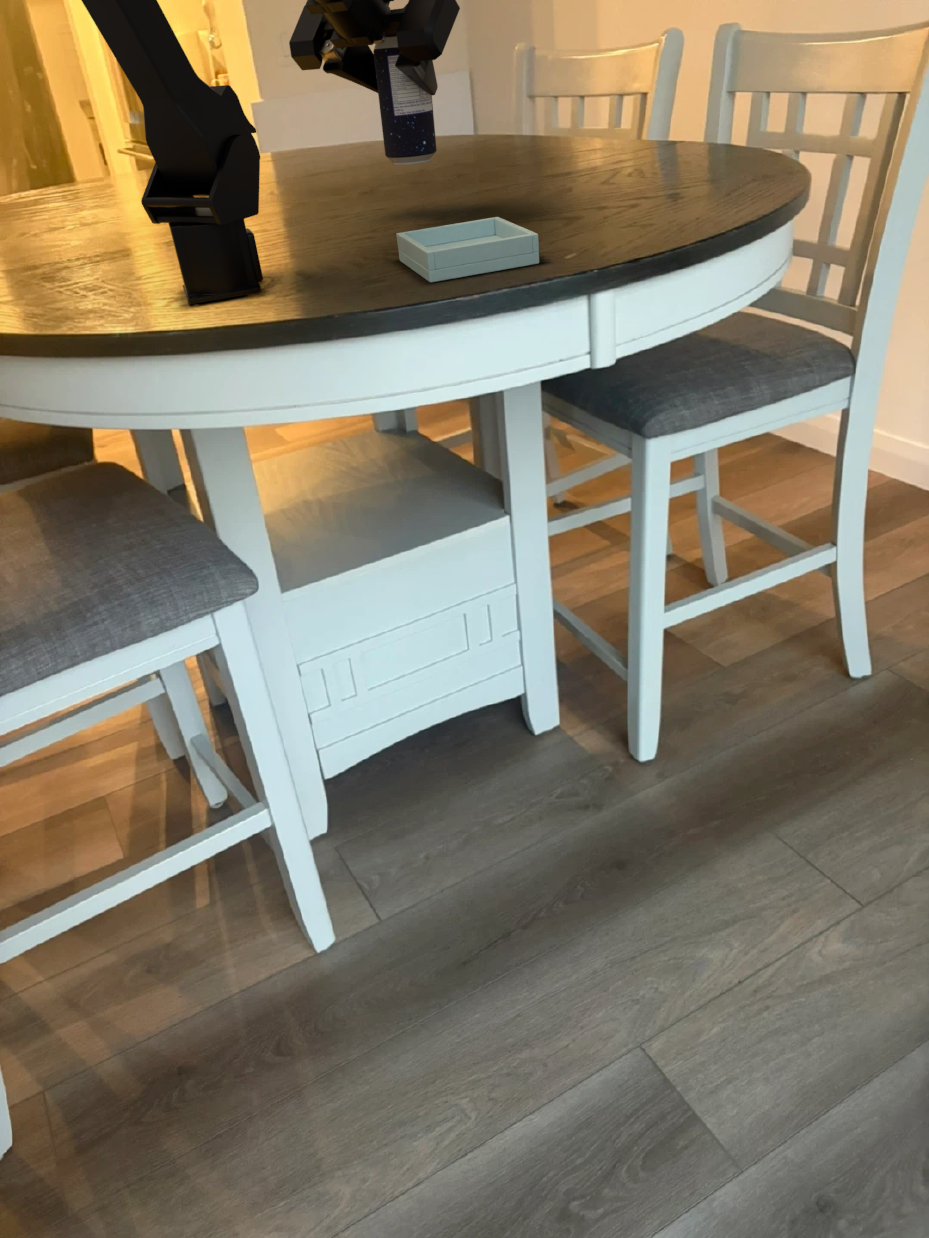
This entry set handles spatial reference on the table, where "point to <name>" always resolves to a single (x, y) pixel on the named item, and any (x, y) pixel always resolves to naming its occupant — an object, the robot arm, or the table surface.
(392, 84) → the beverage can
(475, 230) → the rectangular tray
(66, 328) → the table surface
